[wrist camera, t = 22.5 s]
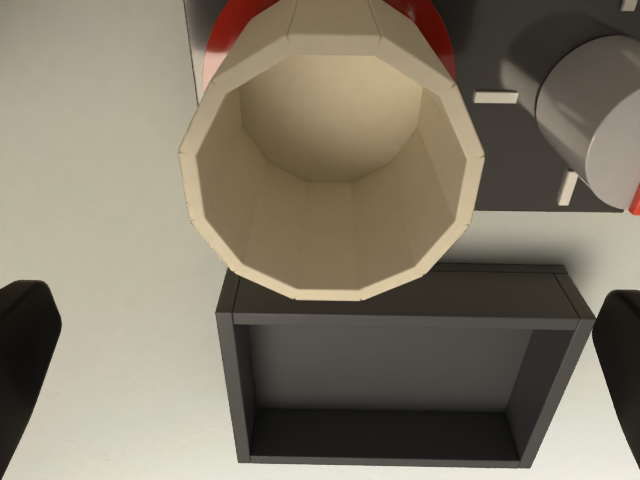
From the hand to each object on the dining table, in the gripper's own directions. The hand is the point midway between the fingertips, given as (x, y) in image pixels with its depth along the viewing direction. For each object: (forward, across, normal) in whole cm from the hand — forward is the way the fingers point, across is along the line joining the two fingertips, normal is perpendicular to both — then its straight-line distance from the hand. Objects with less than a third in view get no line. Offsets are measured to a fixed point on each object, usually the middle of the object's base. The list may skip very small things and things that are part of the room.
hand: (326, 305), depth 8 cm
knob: (+10, -9, 0) cm, 14 cm away
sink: (+12, -3, +14) cm, 19 cm away
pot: (+10, 0, 0) cm, 10 cm away
